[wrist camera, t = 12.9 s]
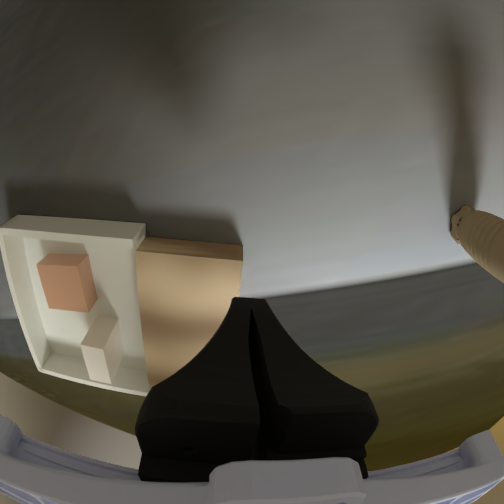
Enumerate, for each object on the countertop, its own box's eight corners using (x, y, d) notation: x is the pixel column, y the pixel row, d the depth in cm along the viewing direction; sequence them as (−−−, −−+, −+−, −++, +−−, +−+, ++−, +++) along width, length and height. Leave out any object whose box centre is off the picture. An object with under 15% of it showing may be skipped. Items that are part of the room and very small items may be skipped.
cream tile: (111, 384, 22) (90, 379, 22) (124, 352, 26) (104, 349, 25) (103, 349, 20) (80, 344, 20) (118, 318, 24) (97, 314, 24)
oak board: (228, 374, 27) (228, 394, 25) (154, 366, 27) (149, 385, 25) (242, 245, 22) (243, 260, 20) (145, 236, 22) (135, 250, 19)
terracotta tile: (48, 308, 21) (59, 295, 23) (88, 312, 21) (97, 298, 23) (36, 264, 20) (48, 253, 21) (77, 266, 20) (88, 254, 22)
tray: (155, 373, 27) (149, 396, 24) (50, 352, 26) (38, 371, 24) (145, 223, 21) (132, 239, 18) (17, 214, 20) (-4, 227, 18)
